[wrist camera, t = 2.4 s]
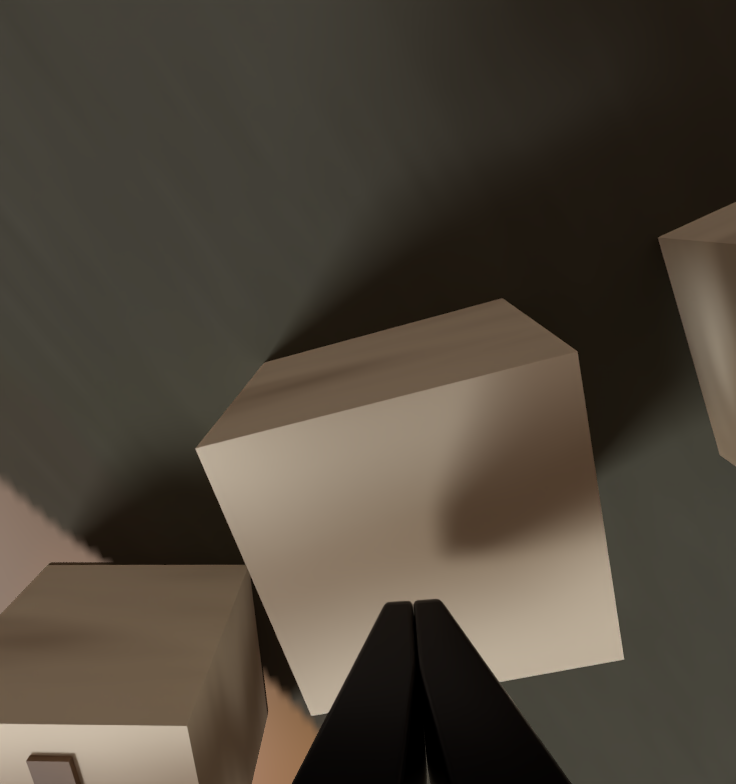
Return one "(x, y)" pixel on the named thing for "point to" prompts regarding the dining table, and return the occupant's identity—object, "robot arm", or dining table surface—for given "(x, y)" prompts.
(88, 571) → the one-stroke block
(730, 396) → the block
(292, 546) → the plain block
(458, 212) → the dining table surface
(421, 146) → the dining table surface
